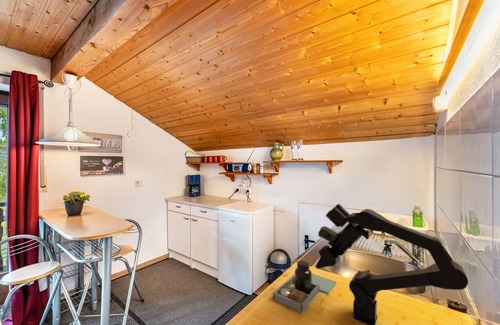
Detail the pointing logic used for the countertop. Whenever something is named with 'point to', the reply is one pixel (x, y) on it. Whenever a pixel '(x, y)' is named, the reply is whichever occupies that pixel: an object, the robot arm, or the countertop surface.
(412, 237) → the robot arm
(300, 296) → the walnut block
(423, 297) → the countertop surface
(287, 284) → the parts organiser
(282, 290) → the silver round piece
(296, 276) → the supplement bottle
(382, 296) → the countertop surface
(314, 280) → the rubber mat
